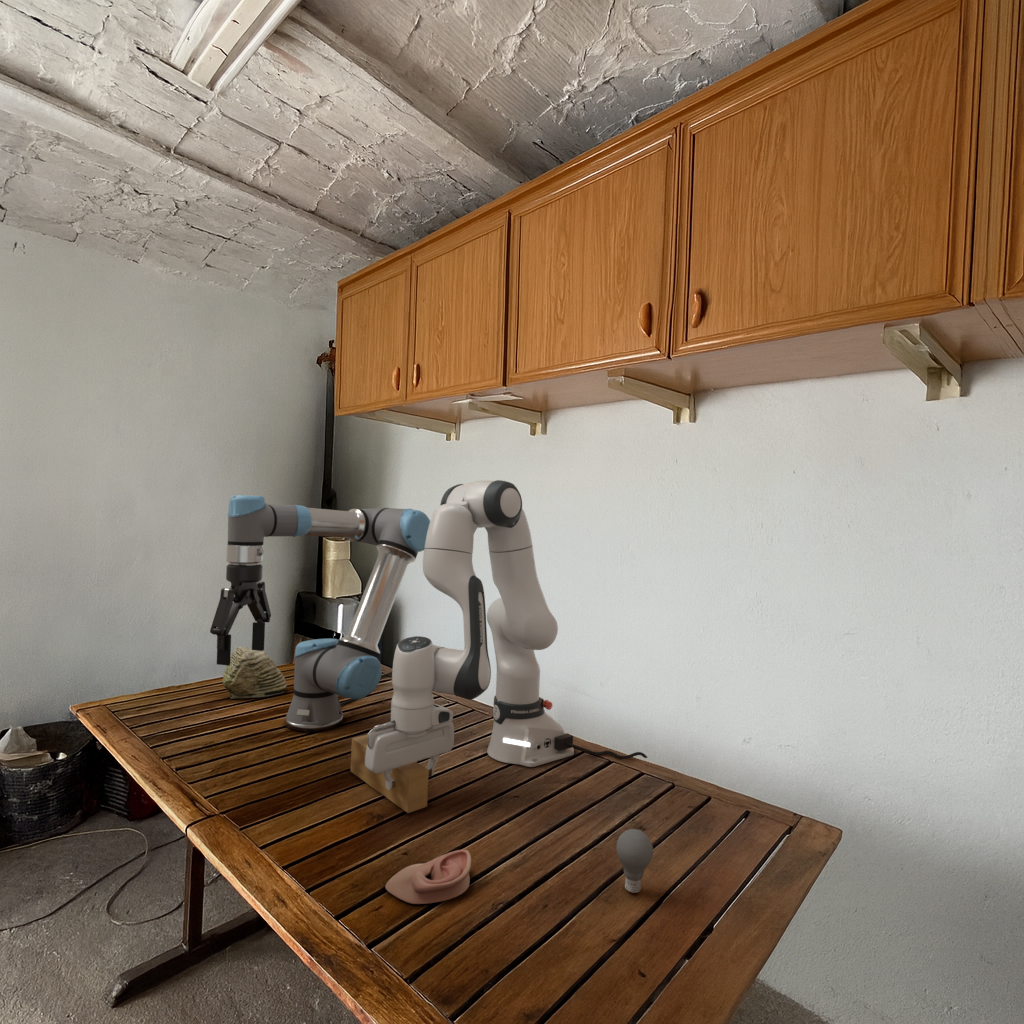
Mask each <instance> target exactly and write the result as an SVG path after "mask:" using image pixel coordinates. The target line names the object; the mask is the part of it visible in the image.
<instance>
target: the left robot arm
mask: <svg viewBox="0 0 1024 1024" xmlns="http://www.w3.org/2000/svg"><path fill="white" fill-rule="evenodd" d="M430 520H431V519H430V518H429V516H428V515H427V514H426V513H424V512H423V511H421V510H418V509H413V508H394V507H373V508H355V507H354V508H351V509H349V510H338V509H328V508H315V507H306V506H305V505H298V504H277V503H266V498H265V497H264V496H262V495H245V494H244V495H243V494H234V495H232V496H231V497H230V499H229V504H228V511H227V544H226V562H227V563H228V564H227V565H226V569H225V570H226V572H225V579H226V581H227V582H230V587H229V588H227V587H222V588H221V590H220V597H219V598H220V599H219V601H218V604H217V607H216V610H215V614H214V616H213V619H212V623H211V627H210V629H209V632H210V634H212V635H213V636H215V635H216V665H217V666H219V665H220V666H226V665H230V657H231V655H232V634H230V631H231V629H232V627H233V626H234V623H235V621H236V619H237V617H238V614H239V612H240V610H242V609H243V608H244V607H246V606H247V607H248V609H249V612H250V613H251V615H252V617H253V619H254V621H253V622H252V631H251V632H252V633H251V634H252V635H251V649H252V650H257V651H263V650H264V651H265V636H266V635H265V634H266V623H270V622H271V617H272V611H271V608H270V603H269V599H268V597H267V592H266V582H265V581H262V580H263V564H261V563H262V562H263V559H264V558H263V557H264V552H265V551H264V540H265V538H270V537H293V538H295V537H302V536H306V537H307V536H309V537H326V538H328V537H329V538H345V539H347V540H348V541H350V542H356V543H364V544H368V545H373V546H375V547H376V549H377V552H378V555H377V558H376V561H375V563H374V566H373V569H372V570H371V573H370V576H369V578H368V581H367V583H366V586H365V589H364V590H363V593H362V596H361V599H360V601H359V604H358V607H357V608H356V611H355V614H354V617H353V618H352V621H351V624H350V626H349V629H348V632H347V634H346V635H345V636H342V637H340V638H339V639H337V638H317V639H316V638H315V639H308V640H304V641H300V642H299V643H298V644H297V645H296V646H295V650H294V651H295V652H294V655H293V658H294V672H293V673H294V674H293V695H292V696H293V697H292V699H291V702H290V704H289V708H288V711H287V713H286V715H285V726H286V728H287V729H289V730H291V731H294V732H295V731H296V732H301V733H316V732H325V731H329V730H332V729H335V728H337V727H339V726H340V725H342V723H343V722H344V713H343V709H342V706H343V705H346V704H348V703H351V702H353V701H355V700H362V699H365V698H366V697H367V696H369V695H371V694H372V693H373V692H374V691H375V690H376V688H377V687H378V685H379V683H380V681H381V680H382V678H385V677H387V676H389V675H392V671H390V672H387V673H384V674H383V670H382V664H381V662H380V660H379V658H380V655H381V650H380V649H379V646H378V644H379V642H380V640H381V637H382V634H383V632H384V629H385V626H386V624H387V621H388V618H389V615H390V613H391V610H392V608H393V605H394V602H395V600H396V597H397V594H398V592H399V589H400V586H401V584H402V581H403V579H404V576H405V573H406V570H407V568H408V565H409V564H411V563H413V562H416V559H417V557H418V554H419V553H420V552H424V547H425V541H426V535H427V531H428V527H429V523H430ZM339 696H340V697H341V698H345V699H348V700H345V701H342V702H340V699H339Z"/></svg>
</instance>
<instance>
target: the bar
mask: <svg viewBox="0 0 1024 1024" xmlns="http://www.w3.org/2000/svg"><path fill="white" fill-rule="evenodd" d="M367 735H368V733H367V734H364V735H360V736H354V737H352V738H351V747H350V749H351V751H350V773H352V774H353V775H354V776H356V777H357V778H358V779H360V780H361V781H363V782H364V783H365V784H367V785H369V786H370V787H371V788H372V789H374V790H375V791H377V792H378V793H379V794H381V795H382V796H384V797H385V798H386V799H388V800H389V801H391V802H392V803H393V804H394V805H395V806H397V807H399V808H400V809H401V810H403V811H404V812H406V813H407V814H410V813H413V812H416V811H419V810H422V809H424V808H428V798H429V797H428V796H429V794H428V793H429V792H428V791H429V777H428V773H429V769H427V768H425V766H423V765H422V764H420V763H419V762H418V761H417V762H413V763H410V764H407V765H404V766H400V767H397V768H394V769H392V774H390V776H391V777H392V778H393V779H395V780H396V788H394V789H391V790H388V789H387V788H386V786H385V782H386V779H385V778H384V777H383V775H382V773H378V774H374V773H372V772H371V771H369V770H368V769H367V768H366V766H365V755H366V748H367Z"/></svg>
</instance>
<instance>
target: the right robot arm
mask: <svg viewBox="0 0 1024 1024" xmlns="http://www.w3.org/2000/svg"><path fill="white" fill-rule="evenodd" d="M522 499H523V498H522V495H521V493H520V491H519V489H518V488H517V486H516V485H515V484H514V483H512V482H509V481H506V480H501V479H497V480H477V481H473V482H468V483H459V484H458V483H457V484H456V485H452V486H451V487H449V488H448V489H446V491H444V494H443V495H442V497H441V499H440V504H439V505H438V506H437V507H435V509H434V510H433V511H432V514H431V517H430V519H429V520H430V523H429V527H428V531H427V535H426V541H425V547H424V550H423V554H422V555H423V556H422V573H423V575H424V577H425V578H426V580H427V581H428V583H429V584H430V585H431V586H432V587H433V588H435V589H436V590H437V591H439V592H441V593H443V594H444V595H446V596H448V597H449V598H451V599H452V600H454V601H455V602H456V603H457V605H459V607H460V608H461V611H462V618H463V619H462V621H463V642H464V648H463V649H456V648H449V647H445V646H440V645H435V644H433V641H432V640H431V639H430V638H429V637H426V636H421V635H420V636H419V635H418V636H417V635H416V636H414V635H413V636H409V637H406V638H403V639H401V640H400V641H399V642H398V643H397V644H396V647H395V650H394V655H393V660H392V670H391V672H392V674H391V685H392V689H393V691H392V692H393V693H392V697H391V701H390V721H387V722H384V723H382V724H376V725H374V726H373V727H372V729H370V730H369V732H368V733H367V734H368V735H367V734H366V735H367V748H366V755H365V766H366V768H367V769H368V770H369V771H371V772H372V773H374V774H378V773H382V775H383V777H384V778H385V779H386V782H385V786H386V788H387V789H388V790H391V789H394V788H396V780H395V779H393V778H392V777H391V776H390V774H392V769H394V768H397V767H400V766H404V765H407V764H410V763H413V762H417V763H418V762H420V761H423V760H426V759H428V762H427V764H426V765H425V766H424V767H425V768H427V769H429V773H428V778H429V777H433V776H435V768H436V766H437V764H438V763H439V759H440V755H443V754H446V753H449V752H451V751H452V750H453V748H454V745H455V726H454V723H453V721H452V720H454V711H453V710H451V709H449V708H448V707H445V706H443V705H440V704H438V703H435V699H434V696H433V692H435V693H441V694H447V695H452V696H456V697H459V698H462V699H465V700H469V701H472V700H474V699H476V698H479V696H481V695H482V694H483V693H485V692H486V691H487V690H488V688H489V686H490V683H491V679H492V678H491V677H492V669H491V662H490V661H491V660H490V656H489V649H488V630H487V623H488V626H489V629H490V632H491V637H492V641H493V642H492V643H493V649H494V655H495V665H496V679H495V680H496V681H495V682H496V683H495V695H494V697H493V708H492V717H493V719H492V720H493V724H492V730H491V736H490V738H489V743H488V746H487V749H486V753H487V755H488V756H489V757H490V758H491V759H493V760H495V761H498V762H501V763H505V764H511V765H519V766H523V767H527V768H535V767H539V766H541V765H544V764H545V765H546V764H548V763H552V762H555V761H558V760H561V759H565V758H568V757H572V756H574V755H575V749H576V750H578V751H579V750H580V751H582V752H584V753H585V752H586V753H588V754H590V755H593V756H603V755H611V756H613V757H615V758H616V759H620V760H627V759H631V758H633V757H636V756H641V757H643V758H644V759H648V755H646V754H645V753H643V752H641V751H636V752H632V753H630V754H628V755H620V754H618V753H616V752H614V751H611V750H603V751H593V750H590V749H588V748H586V747H582V746H580V745H576V744H574V735H572V734H570V733H568V732H567V733H565V730H564V727H563V726H562V725H561V724H560V723H559V722H558V721H557V720H555V719H554V718H553V717H552V716H551V715H550V714H548V713H547V712H546V711H545V709H546V710H547V711H550V710H551V709H552V708H553V706H554V705H553V702H552V701H549V700H548V699H544V698H542V697H541V696H540V683H541V667H540V664H539V662H538V660H537V657H536V652H535V651H542V650H543V651H544V650H546V649H548V648H549V647H550V646H551V645H553V644H554V642H555V641H556V638H557V636H558V632H559V627H558V622H557V619H556V617H555V615H553V614H552V612H551V610H550V608H549V606H548V604H547V601H546V598H545V595H544V592H543V590H542V587H541V584H540V581H539V577H538V573H537V567H536V560H535V553H534V545H533V538H532V534H531V529H530V524H529V521H528V519H527V516H526V512H525V510H524V509H523V500H522ZM479 528H480V529H481V528H484V529H485V530H486V531H485V532H486V533H487V545H488V546H487V547H488V554H489V560H490V567H491V569H490V570H491V575H492V581H493V583H494V585H495V587H496V589H497V591H498V593H499V595H500V597H499V598H497V599H495V600H493V601H492V602H491V603H490V605H489V606H488V609H487V608H486V596H485V589H484V584H483V581H482V580H481V578H479V577H477V575H476V572H475V570H474V564H473V554H474V541H475V540H474V539H475V538H474V535H475V533H476V531H477V530H478V529H479ZM486 609H487V610H486Z"/></svg>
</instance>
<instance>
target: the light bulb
mask: <svg viewBox="0 0 1024 1024" xmlns="http://www.w3.org/2000/svg"><path fill="white" fill-rule="evenodd" d="M615 849H616V854H617V857H618V859H619V861H620V863H621V865H622V867H623V873H624V874H623V875H624V876H625V878H624V888H625V890H627V891H628V892H630V893H634V894H635V893H639V892H640V891H641V889H642V887H641V886H642V879H643V877H644V875H645V871H646V868H647V867H648V866H649V864H650V863H651V861H652V859H653V855H654V847H653V843H652V841H651V838H649V836H648V835H647V834H646V833H645V832H643V831H642V830H641V829H636V828H629V829H627V830H625V831H623V832H622V833H621V834H620V835H619V837H618V839H617V841H616V847H615Z"/></svg>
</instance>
